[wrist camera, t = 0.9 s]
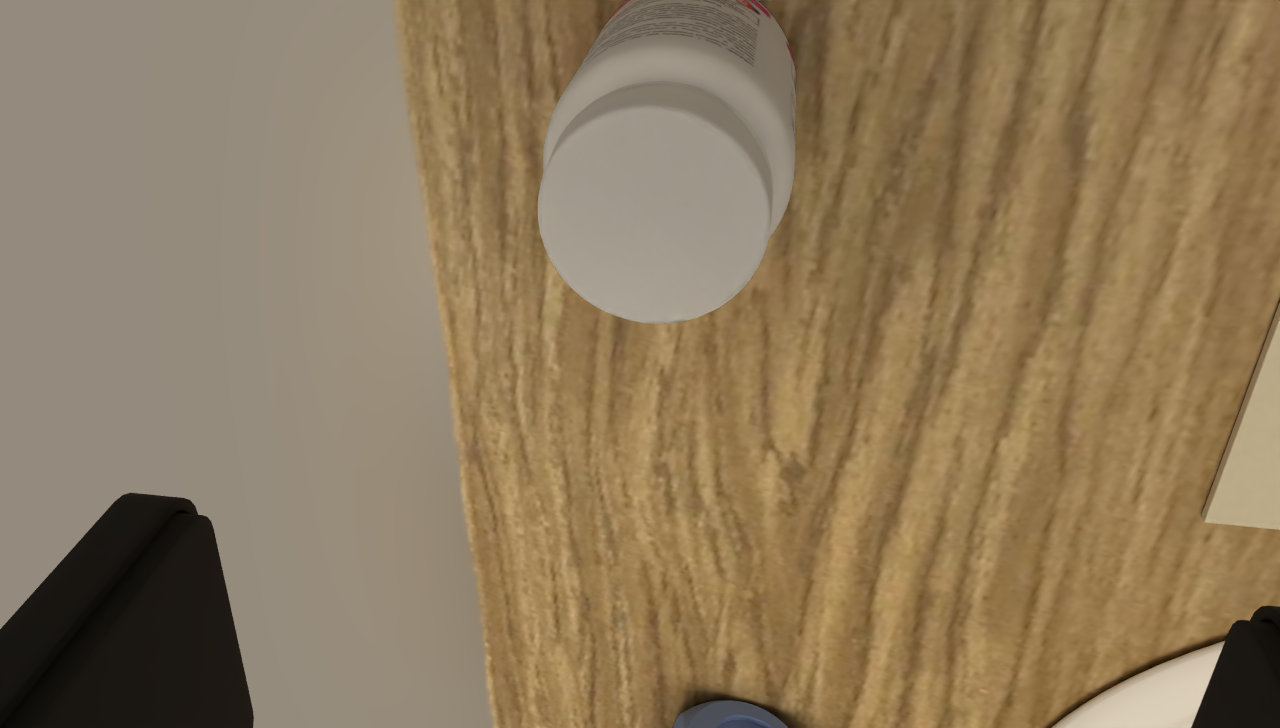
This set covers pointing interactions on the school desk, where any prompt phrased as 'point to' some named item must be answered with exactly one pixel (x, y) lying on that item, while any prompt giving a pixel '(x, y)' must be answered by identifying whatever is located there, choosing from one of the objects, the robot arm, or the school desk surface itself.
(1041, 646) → the school desk surface
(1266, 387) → the sheet
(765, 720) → the decorative dice
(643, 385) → the school desk surface
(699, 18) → the pill bottle
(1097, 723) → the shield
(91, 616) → the robot arm
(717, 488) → the school desk surface
